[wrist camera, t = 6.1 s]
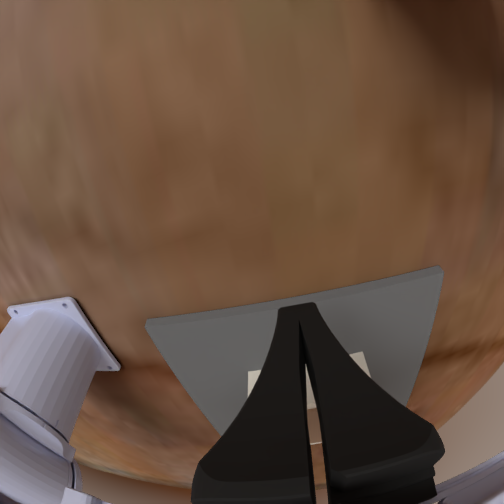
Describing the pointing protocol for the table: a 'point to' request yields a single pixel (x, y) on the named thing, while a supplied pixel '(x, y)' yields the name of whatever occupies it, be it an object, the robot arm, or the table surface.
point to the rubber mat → (263, 326)
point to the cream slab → (311, 397)
